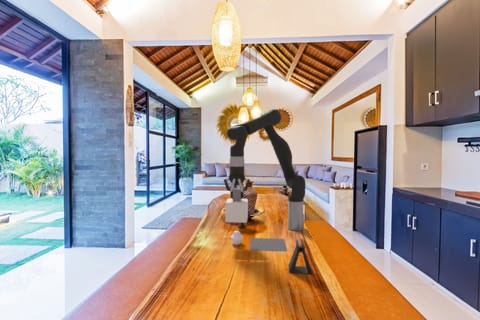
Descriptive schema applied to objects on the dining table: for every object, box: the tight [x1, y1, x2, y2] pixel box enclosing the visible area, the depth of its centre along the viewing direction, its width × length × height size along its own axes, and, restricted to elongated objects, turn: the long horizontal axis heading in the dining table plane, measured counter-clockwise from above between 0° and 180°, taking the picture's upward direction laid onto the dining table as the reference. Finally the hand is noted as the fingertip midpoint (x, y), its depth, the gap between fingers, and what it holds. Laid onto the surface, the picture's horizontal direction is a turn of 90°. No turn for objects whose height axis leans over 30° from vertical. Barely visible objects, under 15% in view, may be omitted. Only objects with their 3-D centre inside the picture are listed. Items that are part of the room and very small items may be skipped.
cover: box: [224, 187, 249, 224], centre depth 138 cm, size 11×11×16 cm
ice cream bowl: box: [237, 210, 252, 229], centre depth 169 cm, size 11×11×15 cm
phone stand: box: [288, 238, 313, 275], centre depth 109 cm, size 9×6×12 cm, turn 82°
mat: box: [249, 237, 288, 252], centre depth 138 cm, size 18×18×1 cm
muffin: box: [230, 230, 244, 246], centre depth 139 cm, size 6×6×7 cm
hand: (236, 198), depth 138 cm, fingers closed on cover, 4 cm apart
